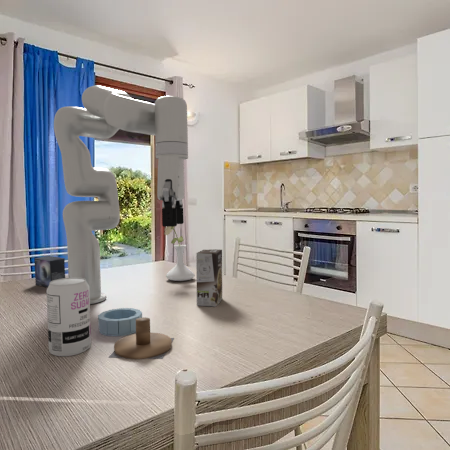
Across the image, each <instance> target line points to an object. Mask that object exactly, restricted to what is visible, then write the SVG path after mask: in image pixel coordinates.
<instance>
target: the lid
mask: <svg viewBox="0 0 450 450" xmlns="http://www.w3.org/2000/svg"><path fill="white" fill-rule="evenodd" d="M171 338H172V337H170V336H168V335H167V334H163V333H161V332H160V333H158V332H151V319H150V317H146V316H145V317H143V316H142V318H138V319H136V332H135V333H133V334H129V335H125V336H124V337H123V336H122V337H121V338H119V339H118V340H116V342H114V345H113V352H115V353H116V354H117V355H118V356H120V357H123V358H122V359H128V360H129V359H130V360H144V359H146V358H151V357H155V356H159V355H161V354H164V353H166V354H167V352H169V351H170V350H171V349H172V345H173V344H172V343H173V341H172V340H171Z"/></svg>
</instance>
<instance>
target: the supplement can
mask: <svg viewBox="0 0 450 450" xmlns="http://www.w3.org/2000/svg"><path fill="white" fill-rule="evenodd" d="M90 305H91V304H90V298H89V285H88V284H87V282H86V279H84V278H69V277H65V278H63V279H57V280H53V281H51V282H50V284H49V286H48V288H47V287H46V310H47V311H46V312H47V316H46V317H47V336H48V338H47V339H48V352H49V353H50V354H51V355H54V356H56V357H71V356H76V355H80V354H82V353H84V352H86V351H87V350H88V349H90V348H91V346H92V340H91V339H92V333H91V308H90V307H91V306H90Z"/></svg>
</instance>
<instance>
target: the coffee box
mask: <svg viewBox="0 0 450 450" xmlns="http://www.w3.org/2000/svg"><path fill="white" fill-rule="evenodd" d="M195 255H196V257H195V258H196V260H195V261H196V266H195V267H196V306H198V307H199V306H204V307H217V306H218V305H219V304H220V302H221V301H222V300H223V249H202V250H200V251H198V252H196V253H195Z"/></svg>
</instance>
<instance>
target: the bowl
mask: <svg viewBox="0 0 450 450" xmlns="http://www.w3.org/2000/svg"><path fill="white" fill-rule="evenodd" d="M138 318H143V312H142V310H140V309H138V308H135V307H134V308H133V307H120V308H112V309H108V310H104V311H103V312H101V313H99V314H98V315H97V323H98V325H97V326H98V331H99V334H100V335H103V336H107V337H123V336H124V337H125V336H129V335H132V334H136V319H138Z"/></svg>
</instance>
